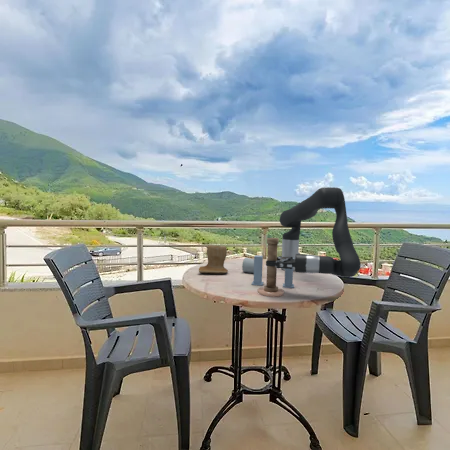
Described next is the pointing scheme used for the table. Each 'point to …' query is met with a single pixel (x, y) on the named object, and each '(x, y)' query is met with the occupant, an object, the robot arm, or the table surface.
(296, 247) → the robot arm
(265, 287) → the candlestick
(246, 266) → the ceramic mug
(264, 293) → the disc
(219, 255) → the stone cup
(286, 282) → the blue pillar pair
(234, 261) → the table surface
